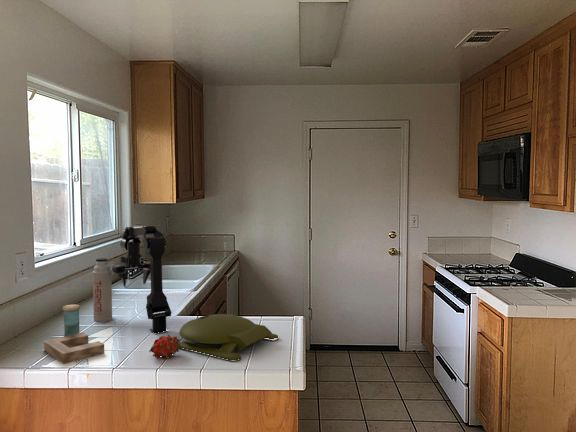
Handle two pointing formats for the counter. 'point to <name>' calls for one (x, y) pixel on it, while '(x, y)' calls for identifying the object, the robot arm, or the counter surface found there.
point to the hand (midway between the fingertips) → (134, 285)
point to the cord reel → (71, 320)
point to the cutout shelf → (73, 348)
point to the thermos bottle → (102, 291)
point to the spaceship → (222, 334)
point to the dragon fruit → (165, 346)
